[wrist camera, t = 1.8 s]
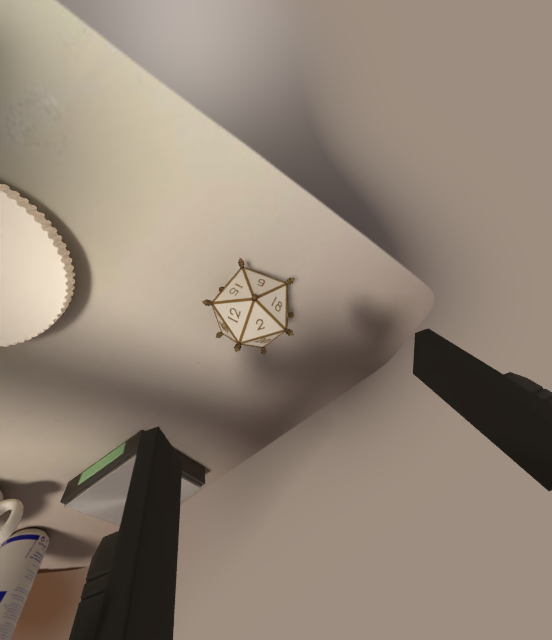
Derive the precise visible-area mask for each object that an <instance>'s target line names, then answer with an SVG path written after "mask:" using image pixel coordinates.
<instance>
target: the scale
mask: <svg viewBox="0 0 552 640" xmlns="http://www.w3.org/2000/svg"><path fill="white" fill-rule="evenodd" d="M142 432H145V431H143V430H141V431H140V432H139V433H137V434H136V435H134V436H133V437H131V438H130V439H129V440H127V441H126V442H124V443H123V444H122V445H120V446H119V447H117V448H116V449H115V450H113V451H112V452H110V453H109V454H108V455H106V456H105V457H103V458H102V459H101V460H99V461H98V462H96V463H95V464H94V465H92V466H91V467H89V468H88V469H86V470H85V471H84V472H82V473H81V474H79V475H78V476H77V477H75V478H74V479H72V480H71V481H70V482H68V485H67V487H66V489H65V492H64V494H63V496H62V499H61V501H60V502H61V503H64V504H65V502H66V501H68V500H69V499H70V498H72V497H73V496H75V495H76V494H77V493H79V492H80V491H82V490H83V489H85V488H86V487H87V486H89V485H90V484H92V483H93V482H94V481H96V480H97V479H99V478H100V477H101V476H103V475H104V474H106V473H107V472H109V471H110V470H111V469H113V468H114V467H116V466H117V465H118V464H120V463H121V462H123V461H124V460H126V459H127V458H128V457H130V456H131V455H133V454H134V453H135V452H137V450H138V445H139V441H140V437H141V433H142ZM174 450H175V449H174ZM175 452H176V453H177V455H178V456H179V457H180V459H181V460H182V462H183V463H182V474H183V475H184V476H186V477H188V478H190V479H192V480H194V481H195V482H197V483H199V484H201V486H202V485H204V484H205V468H204V467H203V466H201V465H199V464H198V463H196V462H194V461H193V460H191V459H189V458H188V457H186V456H184V455H183V454H181V453H180V452H178V451H176V450H175Z"/></svg>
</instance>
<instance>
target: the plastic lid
mask: <svg viewBox="0 0 552 640" xmlns="http://www.w3.org/2000/svg"><path fill="white" fill-rule="evenodd" d="M28 202H29V200H27V199H26V198H22V197H20V196H19V193H18V192H17V191H12V190H10V187H9V186H7V185H6V184H0V347H1V346H4V347H8V346H9V345H10V344H12V345H16V344H17V343H19V342H20V343H23V342H25V341H26V340H30V339H32V338H33V337H36V336H38V335H39V334H40V333H43V332H44V331H45V330H46V329H48V328H49V327H50V326H51V325H52V324H53V323H54V322H55V321H56V320H57V319H58V318H59V317H60V316H61V315H62V314H63V313H64V312H65V309H66V308H67V307H68V306H69V304H68V303H69V302H70V301H71V298H70V297H72V296H73V292H72V291H73V290H74V288H75V286H73V284H74V283H75V280H74V279H73V277H74V276H75V273H74V272H73V271H72V270H73V269H74V266H73V265H71V262H72V258H69V254H70V252H69V251H67V250H66V248H65V247H67V246H66V244H65V243H63V242H62V241H61V240H62V237H61V236H60V235H58V234H57V233H56V232H57V229H56V228H53V227H52V226H51V224H52V223H51V222H50V221H49V220H46V219H45V218H44V216H45V215H44V214H43V213H42V212H41V213H39V212H38V211H37V207H36V206H35V205H30V204H29V203H28Z"/></svg>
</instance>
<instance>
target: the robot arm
mask: <svg viewBox="0 0 552 640" xmlns="http://www.w3.org/2000/svg"><path fill="white" fill-rule="evenodd" d="M413 374H414V375H415V376H416V377H418V378H419V379H420V380H421V381H422V382H423V383H425V384H426V385H427V386H428V387H429V388H430V389H432V390H433V391H434V392H435V393H436V394H437V395H438V396H440V397H441V398H442V399H443V400H444V401H445V402H447V403H448V404H449V405H450V406H451V407H452V408H453V409H455V410H456V411H457V412H458V413H459V414H460V415H461V416H463V417H464V418H465V419H466V420H467V421H468V422H470V423H471V424H472V425H473V426H474V427H475V428H476V429H478V430H479V431H480V432H481V433H482V434H484V435H485V436H486V437H487V438H488V439H489V440H490V441H491V442H493V443H494V444H495V445H496V446H497V447H499V448H500V449H501V450H502V451H503V452H504V453H505V454H507V455H508V456H509V457H510V458H511V459H512V460H513V461H515V462H516V463H517V464H518V465H519V466H520V467H521V468H523V469H524V470H525V471H526V472H527V473H529V474H530V475H531V476H532V477H533V478H534V479H535V480H537V481H538V482H539V483H540V484H541V485H542V486H544V487H545V488H546V489H547V490H548V491H551V490H552V392H550V391H548V390H547V389H543V388H542V386H540V385H538V384H536V383H535V382H533V381H531V380H529V379H528V378H525V377H522V376H520V375H517V374H514V373H511V372H509V373H507V374H504V375H503V374H501V373H500V372H498V371H497V370H495V369H493V368H492V367H490V366H488V365H487V364H485V363H484V362H482V361H480V360H479V359H477V358H475V357H474V356H472V355H470V354H469V353H467V352H466V351H464V350H462V349H461V348H459V347H458V346H456V345H454V344H453V343H451V342H449V341H448V340H446V339H444V338H443V337H441V336H439V335H438V334H436V333H435V332H433V331H432V330H430V329H425V330H423V331H420V332H417V333H415V346H414V365H413ZM182 463H183V462H182V460H181V459H180V457H179V456H178V455H177V453H176V452H175V450H174V449H173V447H172V446H171V444H170V443H169V441H168V440H167V438H166V437H165V435H164V434H163V432H162V431H161V429H160V428H159V426H158V427H156V428H153V429H150V430H147V431H145V432H142V433H141V437H140V441H139V445H138V450H137V454H136V459H135V463H134V467H133V472H132V476H131V480H130V485H129V489H128V494H127V498H126V502H125V507H124V511H123V515H122V520H121V524H120V529H119V531H118V532H115V533H113V534H110V535H108V536H105V537H103V539H102V541H101V543H100V544H99V546H98V548H97V550H96V552H95V554H94V555H93V557H92V560H91V564H90V567H89V571H88V574H87V578H86V584H85V585H84V589H83V592H82V596H81V602H80V603H79V606H78V609H77V613H76V616H75V620H74V624H73V627H72V631H71V634H70V637H69V640H173V627H174V608H175V591H176V590H175V589H176V572H177V553H178V536H179V518H180V499H181V481H182Z"/></svg>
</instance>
